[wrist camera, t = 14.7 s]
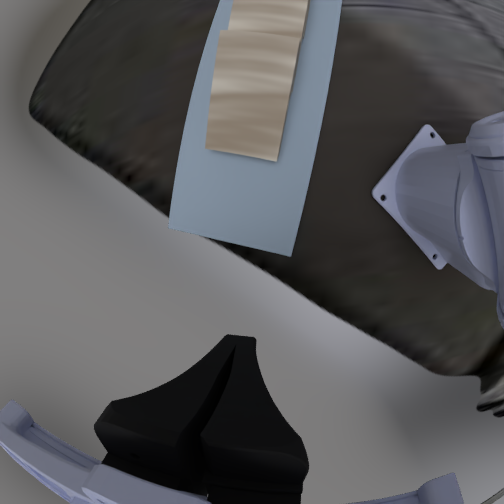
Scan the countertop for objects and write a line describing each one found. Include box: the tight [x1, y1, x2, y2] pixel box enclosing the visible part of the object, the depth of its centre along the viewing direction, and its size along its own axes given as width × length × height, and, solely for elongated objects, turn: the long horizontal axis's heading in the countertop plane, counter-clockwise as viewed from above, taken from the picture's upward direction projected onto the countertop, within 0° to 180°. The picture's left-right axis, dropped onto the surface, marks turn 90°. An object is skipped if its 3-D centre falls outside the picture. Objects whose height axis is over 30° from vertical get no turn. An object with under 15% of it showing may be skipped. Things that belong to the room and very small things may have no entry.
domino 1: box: [228, 0, 309, 93], centre depth 14 cm, size 2×5×9 cm
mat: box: [168, 0, 342, 257], centre depth 16 cm, size 32×10×1 cm, turn 168°
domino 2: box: [205, 30, 301, 162], centre depth 15 cm, size 2×5×9 cm
